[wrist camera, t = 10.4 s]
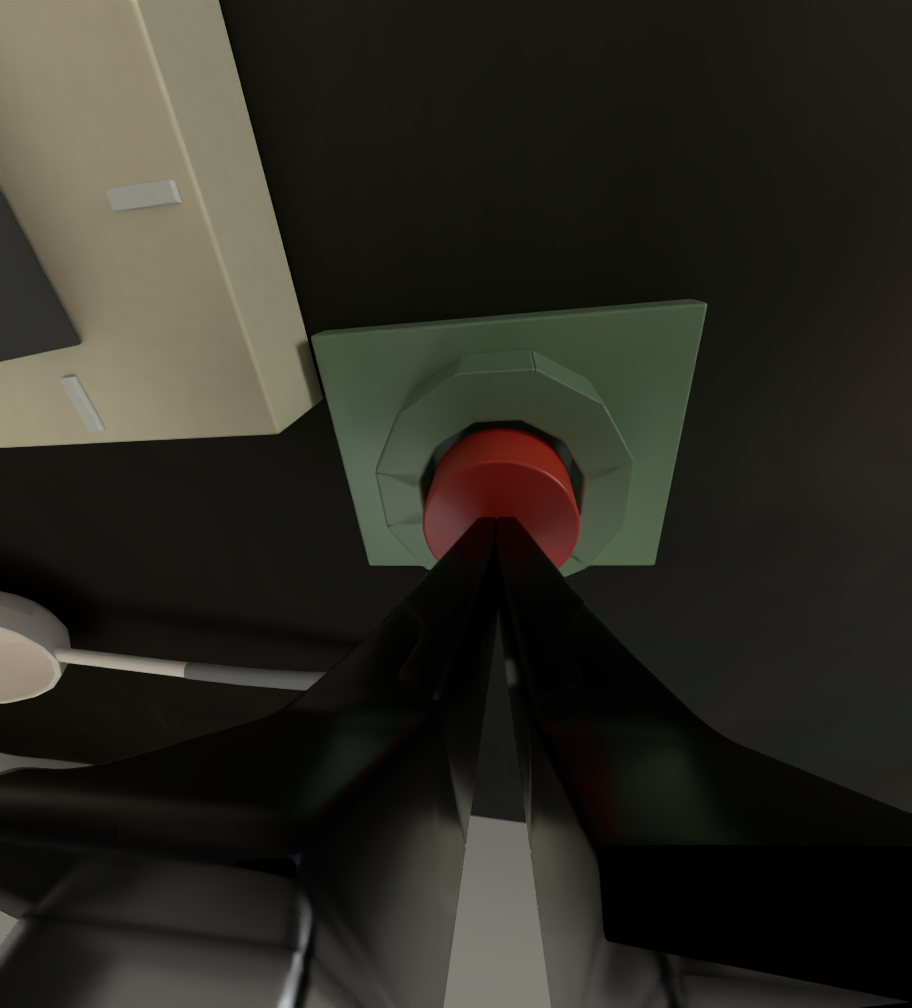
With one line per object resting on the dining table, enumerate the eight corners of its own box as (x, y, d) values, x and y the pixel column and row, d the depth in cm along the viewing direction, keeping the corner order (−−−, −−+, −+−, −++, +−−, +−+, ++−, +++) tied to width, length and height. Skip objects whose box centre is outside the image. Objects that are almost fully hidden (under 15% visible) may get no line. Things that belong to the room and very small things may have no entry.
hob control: (54, 416, 14) (-50, 453, 12) (-212, -15, 9) (-510, -125, 6) (324, 399, 13) (276, 437, 10) (189, -120, 8) (21, -315, 5)
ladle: (-140, 556, 18) (-305, 641, 14) (480, 567, 21) (494, 641, 17) (-64, 649, 21) (-181, 741, 17) (470, 649, 24) (479, 728, 20)
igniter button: (441, 543, 12) (431, 589, 10) (426, 429, 10) (410, 463, 9) (566, 542, 12) (575, 590, 10) (572, 422, 10) (586, 456, 8)
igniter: (376, 550, 16) (351, 606, 13) (323, 330, 12) (272, 351, 9) (646, 548, 14) (675, 610, 12) (693, 298, 10) (753, 312, 8)
